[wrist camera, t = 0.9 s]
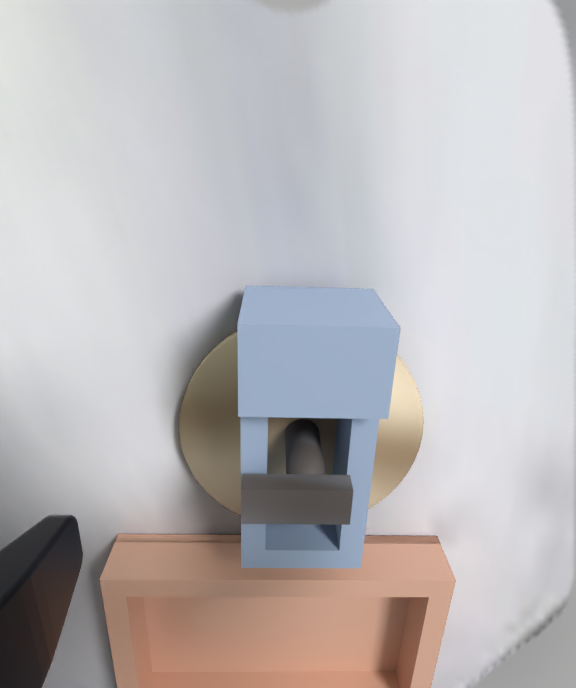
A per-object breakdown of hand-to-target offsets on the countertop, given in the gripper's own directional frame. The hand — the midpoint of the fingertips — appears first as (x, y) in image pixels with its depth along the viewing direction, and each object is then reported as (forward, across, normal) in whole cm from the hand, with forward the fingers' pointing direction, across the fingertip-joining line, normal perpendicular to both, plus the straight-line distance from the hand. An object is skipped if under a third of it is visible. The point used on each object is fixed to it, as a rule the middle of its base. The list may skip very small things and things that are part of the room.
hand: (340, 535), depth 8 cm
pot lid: (+11, 0, +5) cm, 12 cm away
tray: (+11, +1, +16) cm, 19 cm away
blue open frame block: (+10, 0, +4) cm, 11 cm away
